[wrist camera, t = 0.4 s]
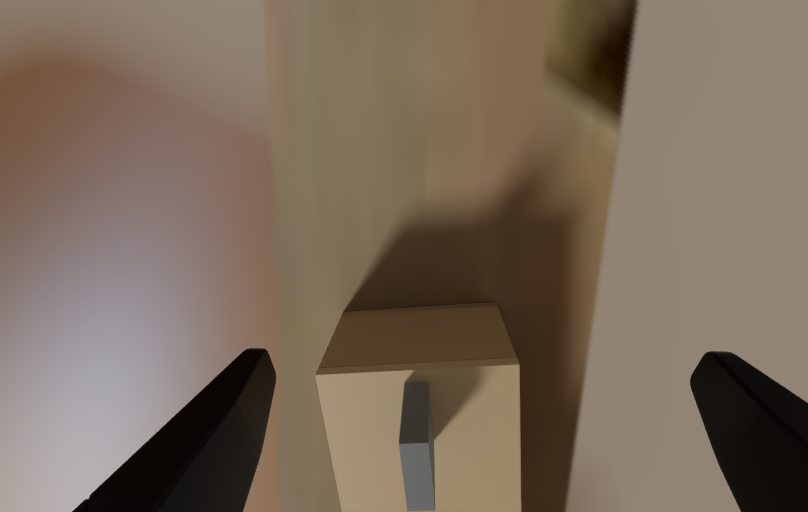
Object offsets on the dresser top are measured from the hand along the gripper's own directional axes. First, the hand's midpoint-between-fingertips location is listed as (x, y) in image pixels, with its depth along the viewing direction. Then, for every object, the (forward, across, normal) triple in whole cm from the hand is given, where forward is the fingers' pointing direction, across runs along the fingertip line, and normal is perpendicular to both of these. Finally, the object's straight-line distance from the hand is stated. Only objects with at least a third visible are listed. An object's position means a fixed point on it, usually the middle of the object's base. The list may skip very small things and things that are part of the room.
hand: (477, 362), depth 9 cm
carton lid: (+5, +1, +16) cm, 17 cm away
